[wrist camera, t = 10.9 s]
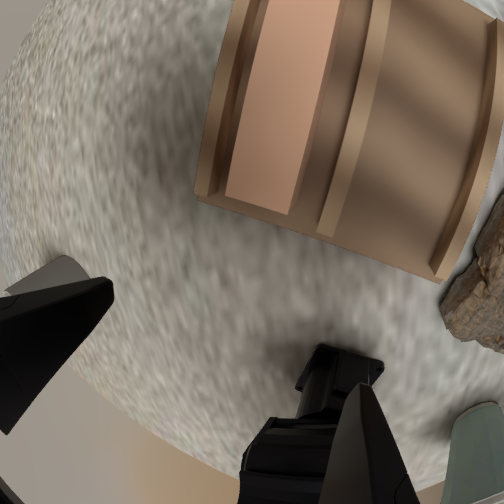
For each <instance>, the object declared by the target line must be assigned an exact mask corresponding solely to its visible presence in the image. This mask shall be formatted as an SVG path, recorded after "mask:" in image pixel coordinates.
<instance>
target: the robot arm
mask: <svg viewBox="0 0 504 504" xmlns="http://www.w3.org/2000/svg"><path fill="white" fill-rule="evenodd" d="M113 302H114V289H113V282H112V281H111V280H110V279H108V278H106V277H103V276H102V277H97V278H92V279H88V280H83V281H78V282H73V283H69V284H64V285H59V286H54V287H50V288H45V289H40V290H35V291H31V292H26V293H22V294H17V295H12V296H7V297H2V298H0V430H1V431H2V432H3V433H4V434H5V435H8V434H9V433H10V431H11V430H12V428H13V427H14V426H15V424H16V423H17V422H18V420H19V419H20V418H21V416H22V415H23V414H24V412H25V411H26V410H27V408H28V407H29V406H30V405H31V403H32V402H33V401H34V399H35V398H36V397H37V395H38V394H39V393H40V392H41V390H42V389H43V388H44V387H45V386H46V384H47V383H48V382H49V381H50V379H51V378H52V377H53V376H54V375H55V373H56V372H57V371H58V370H59V369H60V368H61V366H62V365H63V364H64V363H65V362H66V361H67V359H68V358H69V357H70V356H71V355H72V354H73V352H74V351H75V350H76V349H77V348H78V347H79V346H80V344H81V343H82V342H83V341H84V340H85V339H86V338H87V337H88V336H89V334H90V333H91V332H92V331H93V329H94V328H95V327H96V325H97V324H98V323H99V321H100V320H101V319H102V317H103V316H104V315H105V313H106V312H107V311H108V309H109V308H110V307H111V305H112V304H113ZM320 349H322V350H323V351H321V350H320ZM378 367H380V368H378ZM383 371H384V364H383V363H382V362H379V361H375V360H372V359H368V358H365V357H362V356H359V355H355V354H352V353H349V352H346V351H343V350H340V349H337V348H333V347H330V346H327V345H324V344H319V345H317V346H316V348H315V350H314V352H313V354H312V356H311V358H310V360H309V361H308V363H307V365H306V367H305V369H304V371H303V372H302V374H301V376H300V378H299V379H298V381H297V383H296V386H295V389H296V390H297V391H300V392H303V393H302V397H301V400H300V404H299V407H298V411H297V414H296V418H295V419H288V418H277V417H270V418H269V420H268V421H267V422H266V424H265V425H264V426H263V428H262V429H261V430H260V432H259V433H258V434H257V436H256V437H255V438H254V440H253V441H252V442H251V443H250V445H249V446H248V447H247V449H246V451H245V452H244V453H243V459H242V463H241V470H240V472H239V477H240V493H239V499H238V503H237V504H420V502H419V500H418V498H417V496H416V493H415V490H414V488H413V485H412V483H411V480H410V477H409V475H408V474H407V470H406V467H405V465H404V462H403V460H402V457H401V455H400V452H399V450H398V447H397V445H396V442H395V440H394V437H393V435H392V432H391V430H390V428H389V425H388V423H387V421H386V418H385V416H384V414H383V411H382V409H381V407H380V404H379V402H378V400H377V398H376V395H375V393H374V391H373V389H372V387H371V386H372V385H373V384H374V382H375V381H376V380H377V379H378V377H379V376H380V375H381V374H382V372H383ZM0 504H24V503H23V502H22V501H21V499H20V498H19V497H18V496H17V495H16V494H15V493H14V492H13V491H12V490H11V489H10V488H9V486H8V485H7V484H6V483H5V482H4V480H3V479H2V478H1V477H0Z"/></svg>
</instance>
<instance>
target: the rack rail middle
mask: <svg viewBox="0 0 504 504" xmlns="http://www.w3.org/2000/svg"><path fill="white" fill-rule="evenodd" d="M390 7H391V0H373V6H372V12H371V18H370V24H369V29H368V34H367V40H366V45H365V50H364V55H363V60H362V64H361V69H360V74H359V78H358V82H357V87H356V91H355V95H354V100H353V104H352V108H351V112H350V116H349V120H348V124H347V128H346V132H345V135H344V139H343V143H342V147H341V150H340V154H339V157H338V161H337V165H336V168H335V172H334V175H333V179H332V182H331V185H330V189H329V192H328V195H327V199H326V202H325V205H324V208H323V212H322V215H321V218H320V221H319V224H318V227H317V231H316V232H317V233H320V234H323V235H326V236H329V237H331V238H332V237H333V234H334V232H335V229H336V226H337V223H338V220H339V217H340V214H341V211H342V208H343V205H344V202H345V199H346V195H347V192H348V189H349V186H350V183H351V179H352V176H353V173H354V169H355V166H356V162H357V159H358V156H359V152H360V148H361V145H362V141H363V137H364V134H365V130H366V126H367V122H368V118H369V114H370V110H371V106H372V102H373V98H374V93H375V89H376V85H377V80H378V75H379V71H380V66H381V61H382V55H383V50H384V45H385V39H386V33H387V27H388V21H389V14H390Z"/></svg>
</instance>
